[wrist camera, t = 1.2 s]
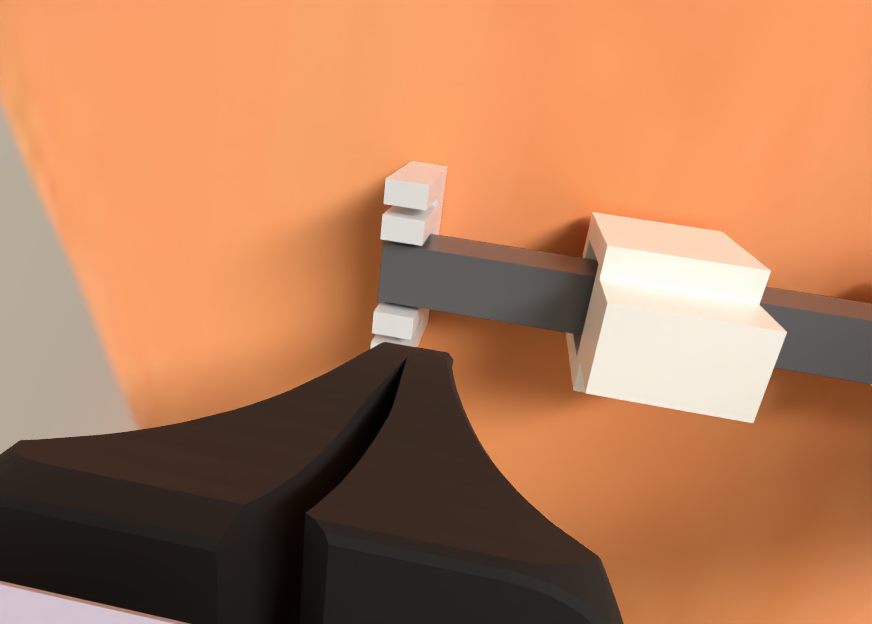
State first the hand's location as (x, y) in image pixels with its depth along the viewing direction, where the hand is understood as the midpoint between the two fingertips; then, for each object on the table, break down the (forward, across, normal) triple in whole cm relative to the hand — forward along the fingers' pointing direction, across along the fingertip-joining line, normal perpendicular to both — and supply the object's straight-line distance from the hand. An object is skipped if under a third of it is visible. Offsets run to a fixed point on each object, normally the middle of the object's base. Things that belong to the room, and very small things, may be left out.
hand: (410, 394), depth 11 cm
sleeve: (+10, -6, 0) cm, 11 cm away
